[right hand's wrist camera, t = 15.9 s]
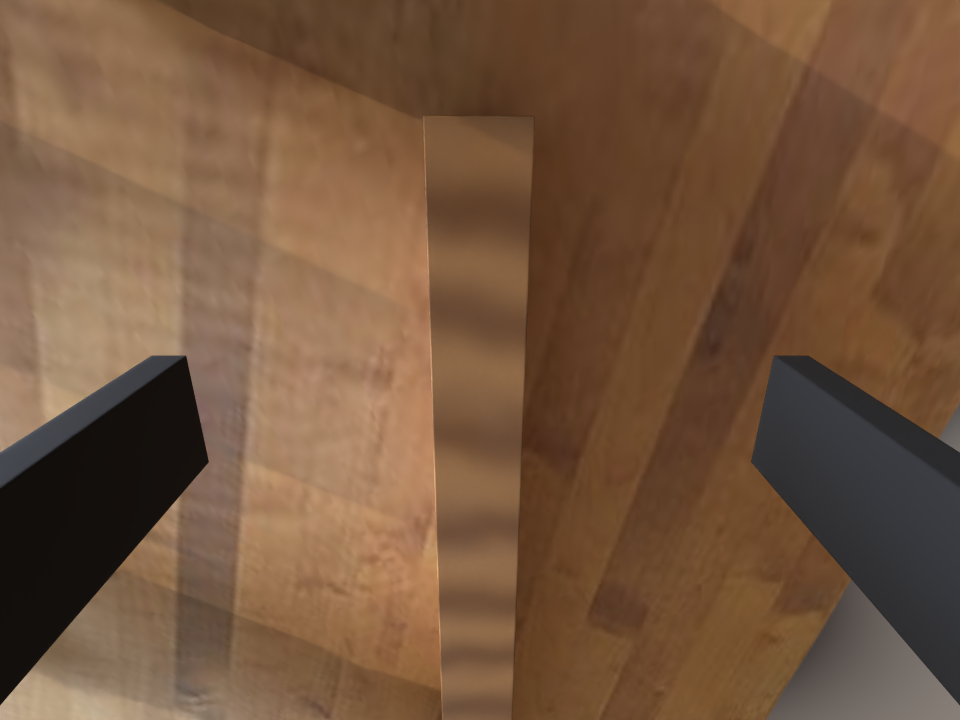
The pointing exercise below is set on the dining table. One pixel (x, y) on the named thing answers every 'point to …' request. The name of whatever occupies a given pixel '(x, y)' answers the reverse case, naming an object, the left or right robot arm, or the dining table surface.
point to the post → (478, 394)
